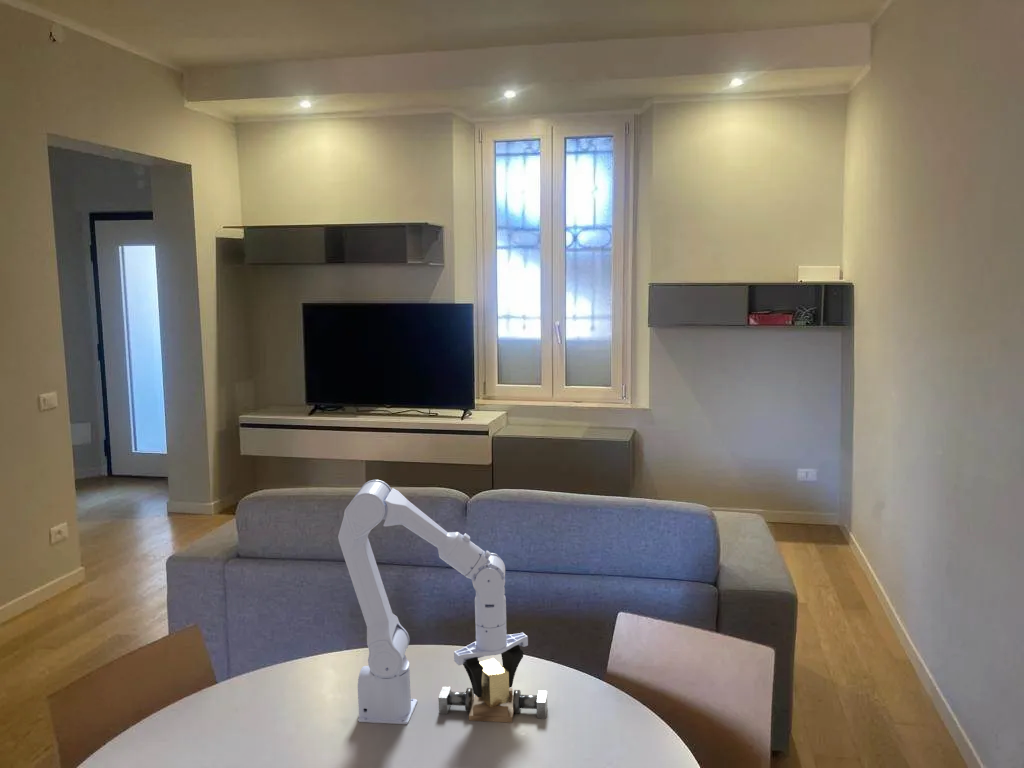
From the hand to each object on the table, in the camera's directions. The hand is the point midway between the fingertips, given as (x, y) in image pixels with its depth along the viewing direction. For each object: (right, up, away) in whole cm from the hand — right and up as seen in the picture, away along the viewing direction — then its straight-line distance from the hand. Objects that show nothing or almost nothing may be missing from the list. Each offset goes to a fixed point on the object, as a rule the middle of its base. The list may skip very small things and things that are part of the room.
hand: (492, 689), depth 150 cm
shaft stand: (0, -4, +1) cm, 4 cm away
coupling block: (0, -2, 0) cm, 2 cm away
